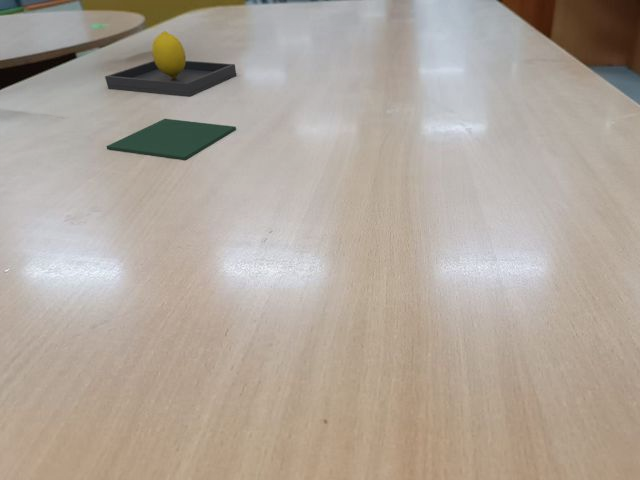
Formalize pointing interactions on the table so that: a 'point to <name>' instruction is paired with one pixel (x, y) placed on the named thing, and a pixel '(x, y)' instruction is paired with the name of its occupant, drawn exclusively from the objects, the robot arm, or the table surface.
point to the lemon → (168, 54)
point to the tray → (184, 84)
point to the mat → (172, 138)
